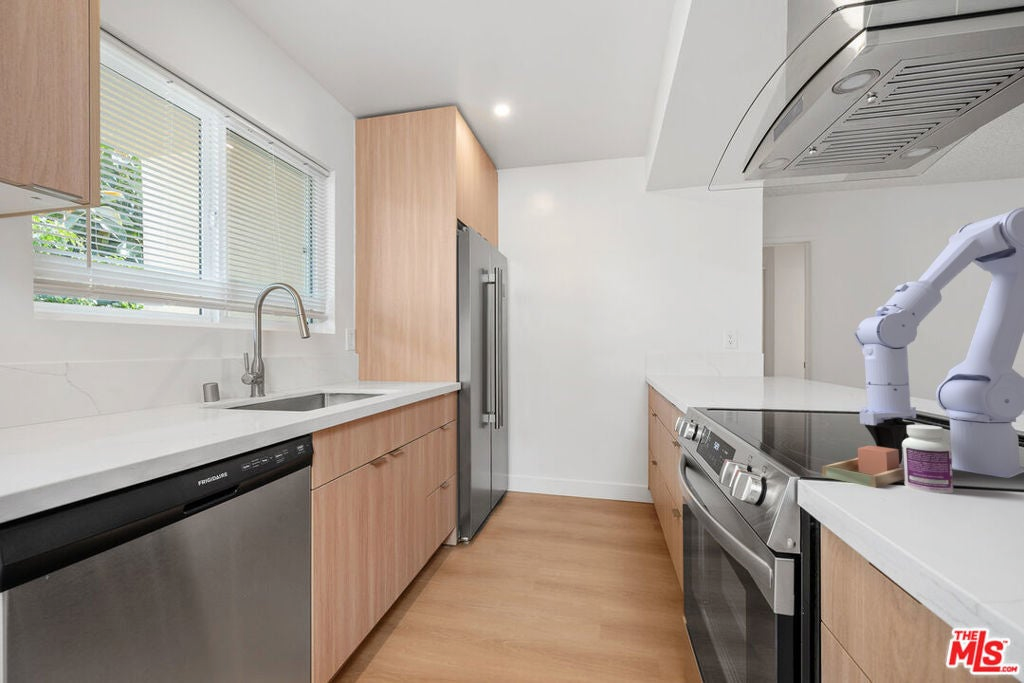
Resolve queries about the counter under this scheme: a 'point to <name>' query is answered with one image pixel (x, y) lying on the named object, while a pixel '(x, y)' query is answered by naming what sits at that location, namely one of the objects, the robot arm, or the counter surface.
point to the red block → (877, 459)
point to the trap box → (860, 474)
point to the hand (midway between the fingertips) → (891, 463)
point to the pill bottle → (927, 460)
